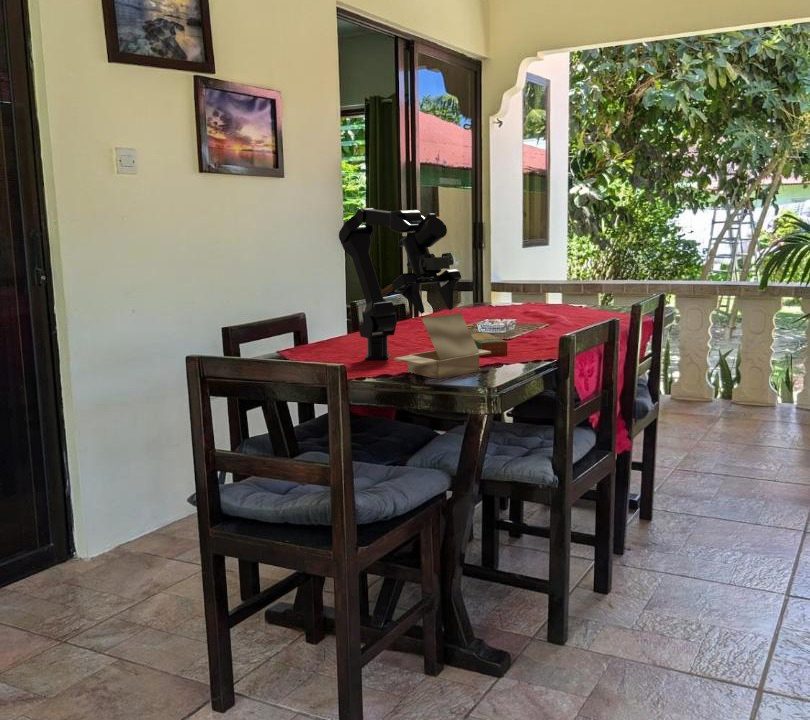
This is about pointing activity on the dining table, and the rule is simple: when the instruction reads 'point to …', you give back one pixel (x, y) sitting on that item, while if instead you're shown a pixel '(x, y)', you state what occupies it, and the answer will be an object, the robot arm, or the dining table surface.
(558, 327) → the dining table surface
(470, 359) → the open box
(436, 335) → the flap
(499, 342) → the carton
